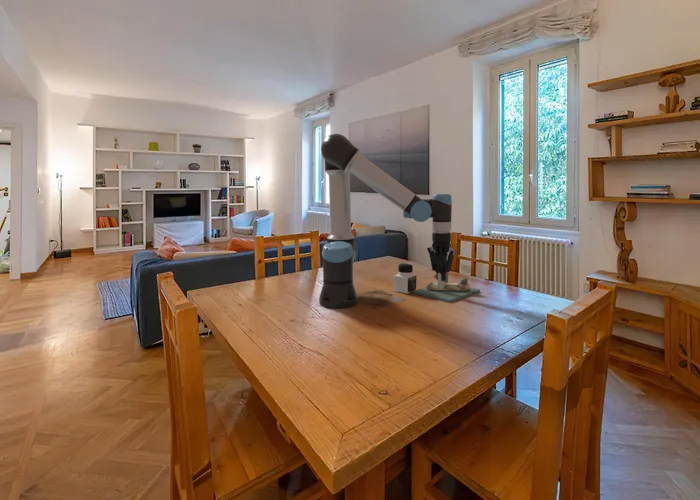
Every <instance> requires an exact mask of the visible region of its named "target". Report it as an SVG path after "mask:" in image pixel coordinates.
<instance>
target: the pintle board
mask: <svg viewBox="0 0 700 500" xmlns="http://www.w3.org/2000/svg"><path fill="white" fill-rule="evenodd" d="M433 279H436V274H434V275H433ZM444 283H449V272H447V273H446V280H445V281H444ZM460 283H462V284H467V283H468V278H465V277H461V278H460ZM480 291H481V290H480V289H479V288H474V287H470V291H456V290H427V286H426V287H422V288H419V289H416V290H415V291H413V294H415V295H419V296H423V297H427V298H430V299H434V300H438V301H440V302H441V301H442V302H444V303H445V302H446V303H449V304H450V303H453V302H456V301H458V300H461V299H464V298H467V297H470V296H472V295H475V294H478V293H480Z"/></svg>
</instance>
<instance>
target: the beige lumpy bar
mask: <svg viewBox="0 0 700 500" xmlns="http://www.w3.org/2000/svg"><path fill="white" fill-rule="evenodd" d="M426 287H427V290H456V291H470V288H471V283H467V284H462V283H461V282H448V283H444V288H442V289H438V282H426Z"/></svg>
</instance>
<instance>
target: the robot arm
mask: <svg viewBox="0 0 700 500" xmlns="http://www.w3.org/2000/svg"><path fill="white" fill-rule="evenodd" d="M320 151H321V156H322V158H323V159H324V172H325V173H326V174H327V175H328V181H329V182H328V184H329V186H328V189H329V192H328V193H329V220H330V221H329V223H330V228H329V229H330V234H328V236H327V237H326V241H327V242H326V243H324V245H323V246H322V252H321V256H322V281H323V282H322V286H321V290H320V293H319V298H318V299H319V303H318V304H319V305H320V306H322V307H324V308H330V309H344V308H345V309H346V308H350V307H354V306H355V305H357V304H358V294H357V290H356V288H355V286H354V262H355V260H356V257H357V250H356V243H355V242H356V237H355V235H354V234H352V224H351V223H352V221H351V220H352V216H351V214H352V211H351V210H352V209H351V174H352V175H353V176H355V178H357V179H359V180H360V182H361V181H362V182H363V183H364V184H365V185H367V186H368V187H369V188H371V189H372V190H373V191H375V192H376V193H377V194H379V195H380V196H382V197H383V198H385V199H386V200H387V201H389V202H390V203H392V204H393V206H394V205H395V206H396V207H397V208H398V209H400V210H401V211H402V216H403V218H404V219H412V220H414V221H416V222H418V223H421V222H426V221H427V220H429V219H431V218H432V219H431V220H432V222H431V223H432V227H431V228H432V229H431V231H432V232H431V234H432V235H431V240H432V244H431V246H428V247H427V248H426V249H427V252H428V254H429V255H428V256H429V259H430V260H429V261H430V264H431V270H432V271H434V272H435V275H436V278H435V279H436V280H437V283H438V289H442V288H444V281H445V280H446V273H447V272H448V273H449V272H450V271H451V269H452V267H453V262H454V256H455V255H456V253H457V250H456V249H453V248H452V243H451V242H452V213H453V211H452V210H453V208H452V207H453V204H452V203H453V202H452V201H453V200H452V195H451V194H450V193H434V194H432V198H429V199H426V198H425V199H422V198H421V197H419V196H418V195H416V194H415V193H414V192H413V191H412V190H410V189H408V188H407V187H406V186H404V184H401V183H400V182H399V181H398V180H396V179H395V178H393V176H392V175H391V176H390V175H389V174H388V173H386V172H385V171H384V170H382V169H381V168H380V167H378V166H377V165H376V164H374V163H373V162H372V161H370V160H369V159H367V158H366V157H365V156H364V155H362V154H361V150H360V149H359V148H357V147H356V146H354V145H353V143H352V142H351V141H350V140H349V139H348V138H347V137H346V136H345V135H343V134H341V133H333V134H330V135H328V136H326V137H325V138H324V139H323V141H322V144H321V147H320Z"/></svg>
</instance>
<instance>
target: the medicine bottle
mask: <svg viewBox="0 0 700 500" xmlns="http://www.w3.org/2000/svg"><path fill="white" fill-rule="evenodd" d="M413 266H414V265H413V264H411V263H408V262H403V263H399V264H398V266H397V267H398V272H397V274H394V275H393V291H394V292H396V293H397V292H398V293H400V294H401V293H402V294H411V293H414V291H415V290H417V274H416V273H413Z"/></svg>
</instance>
